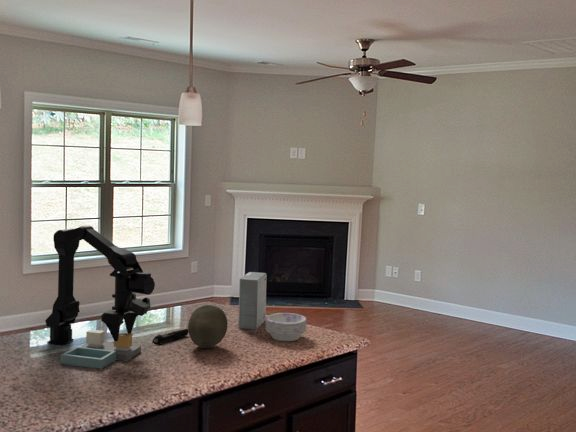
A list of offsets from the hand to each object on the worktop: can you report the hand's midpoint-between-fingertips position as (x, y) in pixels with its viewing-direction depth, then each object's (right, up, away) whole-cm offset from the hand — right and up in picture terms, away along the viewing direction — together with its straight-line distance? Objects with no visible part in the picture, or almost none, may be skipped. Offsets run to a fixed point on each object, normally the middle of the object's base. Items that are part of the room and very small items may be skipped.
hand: (122, 337), depth 206 cm
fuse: (-10, -5, +3) cm, 12 cm away
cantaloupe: (+26, -6, +12) cm, 29 cm away
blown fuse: (0, -6, +1) cm, 6 cm away
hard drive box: (+40, -4, +45) cm, 61 cm away
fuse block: (-5, -6, +2) cm, 8 cm away
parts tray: (-9, -6, -8) cm, 13 cm away
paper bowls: (+54, -6, +28) cm, 61 cm away
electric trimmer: (+12, -5, +20) cm, 24 cm away
